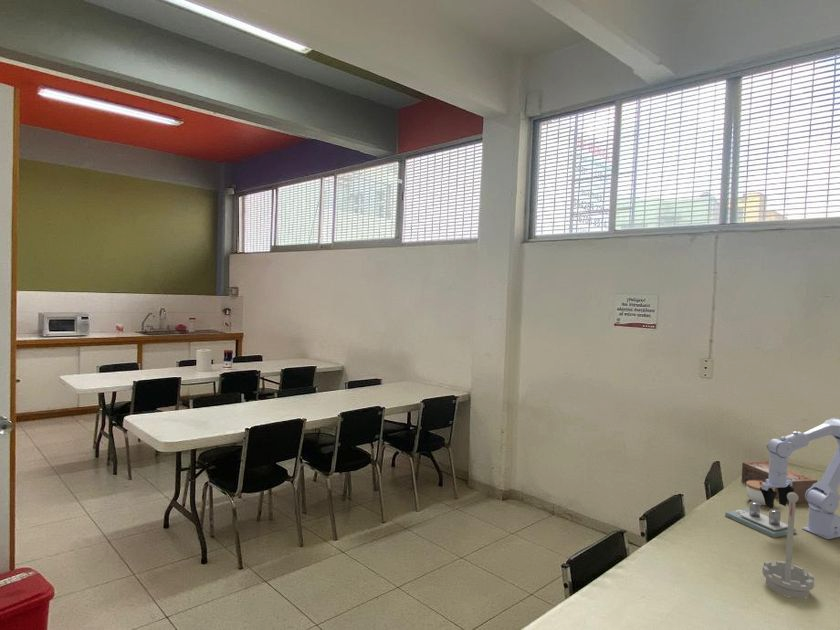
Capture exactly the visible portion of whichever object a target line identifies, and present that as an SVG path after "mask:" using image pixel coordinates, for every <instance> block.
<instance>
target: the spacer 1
mask: <svg viewBox="0 0 840 630" xmlns="http://www.w3.org/2000/svg"><path fill="white" fill-rule="evenodd" d="M761 506H762V505H761V504H760V503H758V502H754V501H750V502H749V508H748V509H749V515H750V516H752V517H756V518H759V517H760V513H761Z"/></svg>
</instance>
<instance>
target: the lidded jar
mask: <svg viewBox="0 0 840 630" xmlns="http://www.w3.org/2000/svg"><path fill="white" fill-rule="evenodd" d="M763 483H765V482H762V481H754V480H751V481H747V482H746V484H745V486H746V487H745V488H746V489H745V490H746V494H747V496H748V498H749V499H750V500H751V501H754V502H758V503H760V504H761V505H760V506H766V504H765V500H764V497H763V494H762V492H761V491H760V487H762V484H763ZM772 490H773V491H775V488H773V489H772ZM751 501H750V502H751Z"/></svg>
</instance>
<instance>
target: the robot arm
mask: <svg viewBox="0 0 840 630" xmlns="http://www.w3.org/2000/svg"><path fill="white" fill-rule="evenodd" d="M827 436H832V437H833V438H834V439H835V440H836V442H837V444H838V447H837V449H836V450H835V452H834V455H833V457H832V458H831V460H830V462H829V463H828V465H827V468H826V470H825V471H824V472H823V475H822V478H821V479H820V480H819V481H817V483H814V484H813V485H812V487H811V488H810V489H808V490H807V491H806V493H805V498H806V500H807V501H808V506H809V507H808V522H807V526H803V527H802V529H803V530H805V531H806V532H810V533H812V534H814V535H816V536H819V537H821V538H824V539H827V540H832V539H836V538H840V515H839V514H838V515H837V513H835V512H836V511H837V510H838V508H839V504H840V503H839V502H840V493H839V491H838V488H839V487H840V418H839V417H832V418H830V419H826V420H824V422H823V423H821V424H819V425H818V426H815V427H813V428H811V429H808V430H807V431H806V430H805V432H801V431H795V430H794V431H792V433H791V434H788V435H785V436H781V437H780V438H771V439H770V440H769V441H768V443H767V444H766V449H767V451H768V456H769V459H768V460H769V478H768V479H766V482H765V483H763V484H762V487H760V491H761V492H762V494H763V497H764V500H765V504H766V505H765V507H766V508H768V509H773V508H774V503H775V499H776V498H775V496H776V494H777V492H775V491H773V490H772V489H773V488H777V489H778V493H779V499H778V503H779V505H781V506H784V507H785V506H787V504H788V503H787V501H788V499H787V494H788V493H790V492H793V491H794V488H792V487H790V486H792V481H790V480H787V469H788V463H789V462H788V459H789V457H791V455H792V453H793V452H795V451H797V450H799V449H802V448H805V447H808V445H809V443H810V442H812V441H815V440H818V439H820V438H824V437H827Z"/></svg>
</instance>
